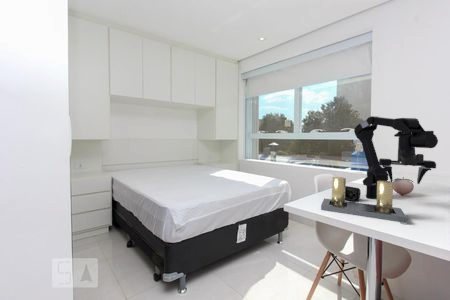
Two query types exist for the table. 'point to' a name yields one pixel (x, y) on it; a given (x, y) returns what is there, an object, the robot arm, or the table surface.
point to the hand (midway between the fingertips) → (404, 182)
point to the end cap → (352, 194)
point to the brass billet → (384, 196)
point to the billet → (338, 191)
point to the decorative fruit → (403, 186)
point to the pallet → (365, 211)
